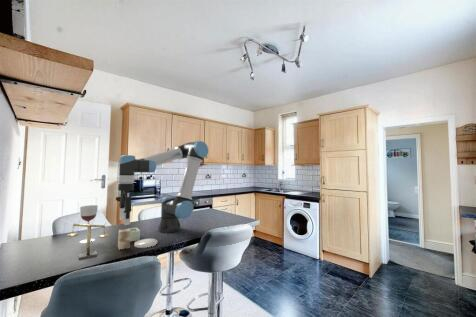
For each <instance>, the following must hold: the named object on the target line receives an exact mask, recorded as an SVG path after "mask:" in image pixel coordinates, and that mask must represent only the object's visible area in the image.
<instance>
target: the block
mask: <svg viewBox="0 0 476 317" xmlns="http://www.w3.org/2000/svg"><path fill="white" fill-rule="evenodd" d="M129 229H130V228H125V229H124V228H123V229H118V233H117V234H118V235H117V248H118V250H120V249H121V250H125V248H126V249H130V248H131V242H130V230H129ZM121 250H120V251H121Z"/></svg>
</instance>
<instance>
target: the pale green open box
mask: <svg viewBox="0 0 476 317" xmlns="http://www.w3.org/2000/svg"><path fill="white" fill-rule="evenodd" d="M128 229H129V230H130V243H131V242H136V241H139V240H141V230H140V229H139V227H130V228H128Z"/></svg>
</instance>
